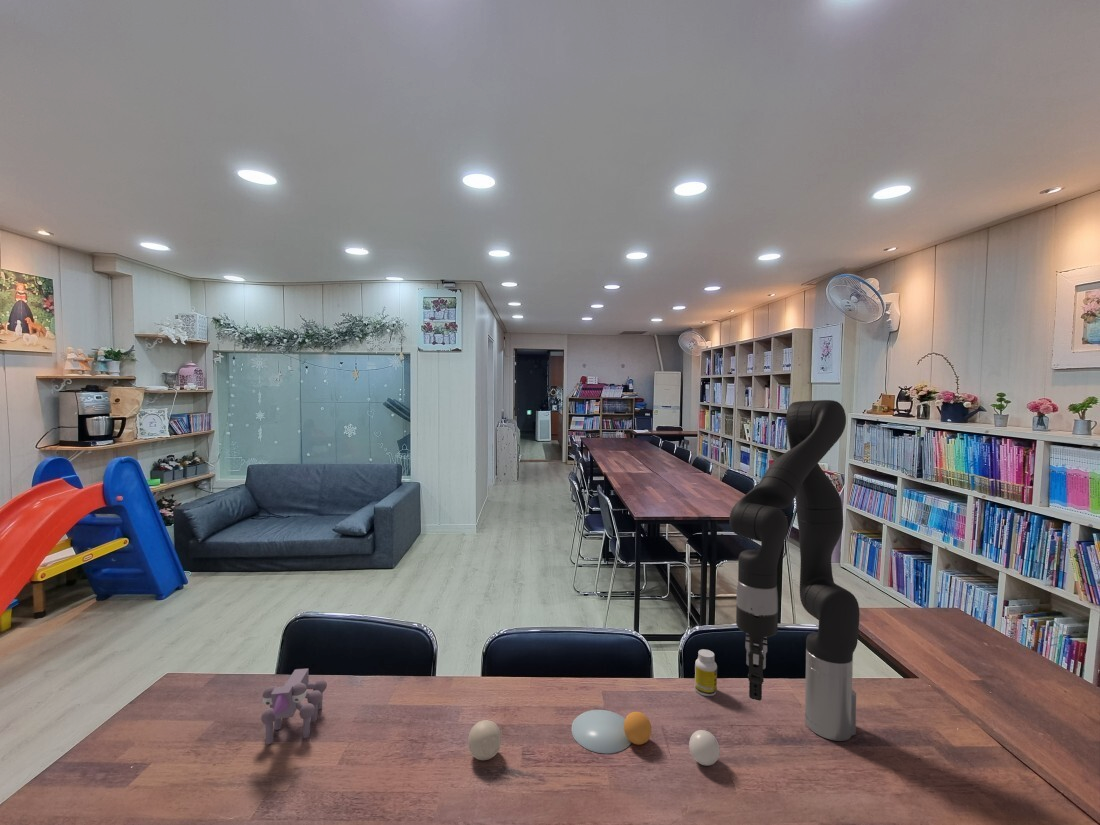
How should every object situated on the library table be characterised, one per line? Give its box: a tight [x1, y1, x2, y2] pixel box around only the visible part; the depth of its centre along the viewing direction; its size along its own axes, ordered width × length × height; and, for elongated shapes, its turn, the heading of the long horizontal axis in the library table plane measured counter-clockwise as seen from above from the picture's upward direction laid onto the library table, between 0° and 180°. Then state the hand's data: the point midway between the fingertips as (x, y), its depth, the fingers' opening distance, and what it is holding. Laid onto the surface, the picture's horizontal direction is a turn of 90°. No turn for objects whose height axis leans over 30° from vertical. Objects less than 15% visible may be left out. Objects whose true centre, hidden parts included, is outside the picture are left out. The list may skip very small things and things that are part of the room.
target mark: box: [571, 709, 633, 755], centre depth 106 cm, size 14×14×1 cm
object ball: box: [624, 711, 652, 746], centre depth 103 cm, size 6×6×6 cm
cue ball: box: [688, 729, 720, 766], centre depth 97 cm, size 6×6×6 cm
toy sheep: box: [260, 668, 328, 745], centre depth 103 cm, size 20×11×14 cm, turn 11°
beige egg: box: [467, 719, 502, 761], centre depth 98 cm, size 7×7×7 cm
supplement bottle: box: [694, 648, 718, 697], centre depth 121 cm, size 5×5×10 cm
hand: (755, 689), depth 93 cm, fingers open, 5 cm apart
